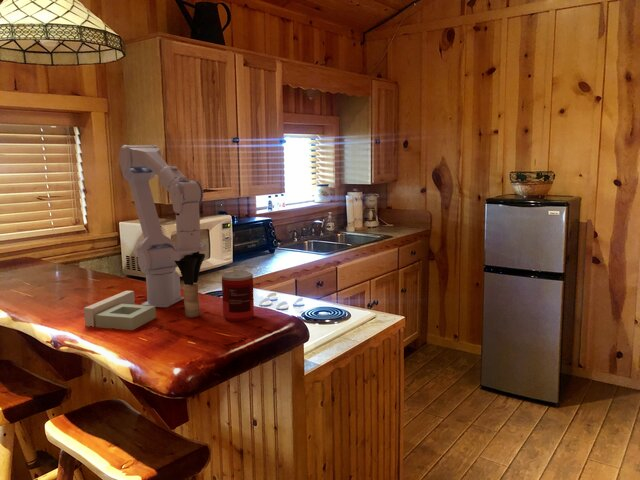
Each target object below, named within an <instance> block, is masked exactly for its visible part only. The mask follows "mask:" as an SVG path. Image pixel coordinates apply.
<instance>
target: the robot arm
mask: <svg viewBox="0 0 640 480" xmlns="http://www.w3.org/2000/svg"><path fill="white" fill-rule="evenodd" d="M118 152H119V155H118V162H119V165H120V170H121V174H122V177H123V179H125V180H126V181H128V183H129V187H130V191H131V195H132V197H133V202H134V206H135V209H136V213H137V217H138V221H139V224H140V228H141V231H142V236H143V238H144V239H143V240H142V241H141V242H140V243H139V244H138V246H137V248H136V252H137V253H136V254H137V263H138V267H139V269H140V271H142V272H143V274H145V282H146V295H147V296H146V297H147V298H146V299H147V301H144V302H143V303H141V304H140V305H146V306H155V308H169V307H171V306H172V305H174V304H176V303H178V302H180V301H182V300H184V296H182V295H181V294H182V293H181V278H180V275H179V273H178V271H176V268H178V270H179V272H180V274H181V277H182V280H183V285H193V283H196V284H198V281H199V277H200V273H201V272H200V270H201V268H202V267H201V266H202V264H203V262H204V260H205V258H206V254H205V253H200V252H205V251H207V243H206V242H201V219H200V204H201V203H202V202H203V198H204V189H203V186H202V185H201V183H200V181H199V180H192V179H191V180H190V179H189V178H188V177H187V176H185V175H184V173H182V171H180V170H179V167H177V166H176V165H170V166H169V165H168V163H167V162H166V161H165V160H164V159H163V157H162V151H161V148H159V147H158V146H157V145H156V144H152V145H128V144H123V145H122V146H121V147H120V149H119V151H118ZM156 175H157V176H158V182H159V184H160V185H161V186H162V187H163V188H164V189H165V190H166V191H167V192H168V193H169V199H170V200H171V204H172V210H173V212H174V213H175V225H176V226H175V227H176V242H177V243H176V245H177V246H175V243H174V240H173V239H172V238H170V237H168V236H166V235H165V234H164V233H163V230H162V226H161V223H160V218H159V216H158V212H157V207H156V205H155V201H154V198H153V193H152V190H151V186H150V180H152V179H154V178H155V177H156Z"/></svg>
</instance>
